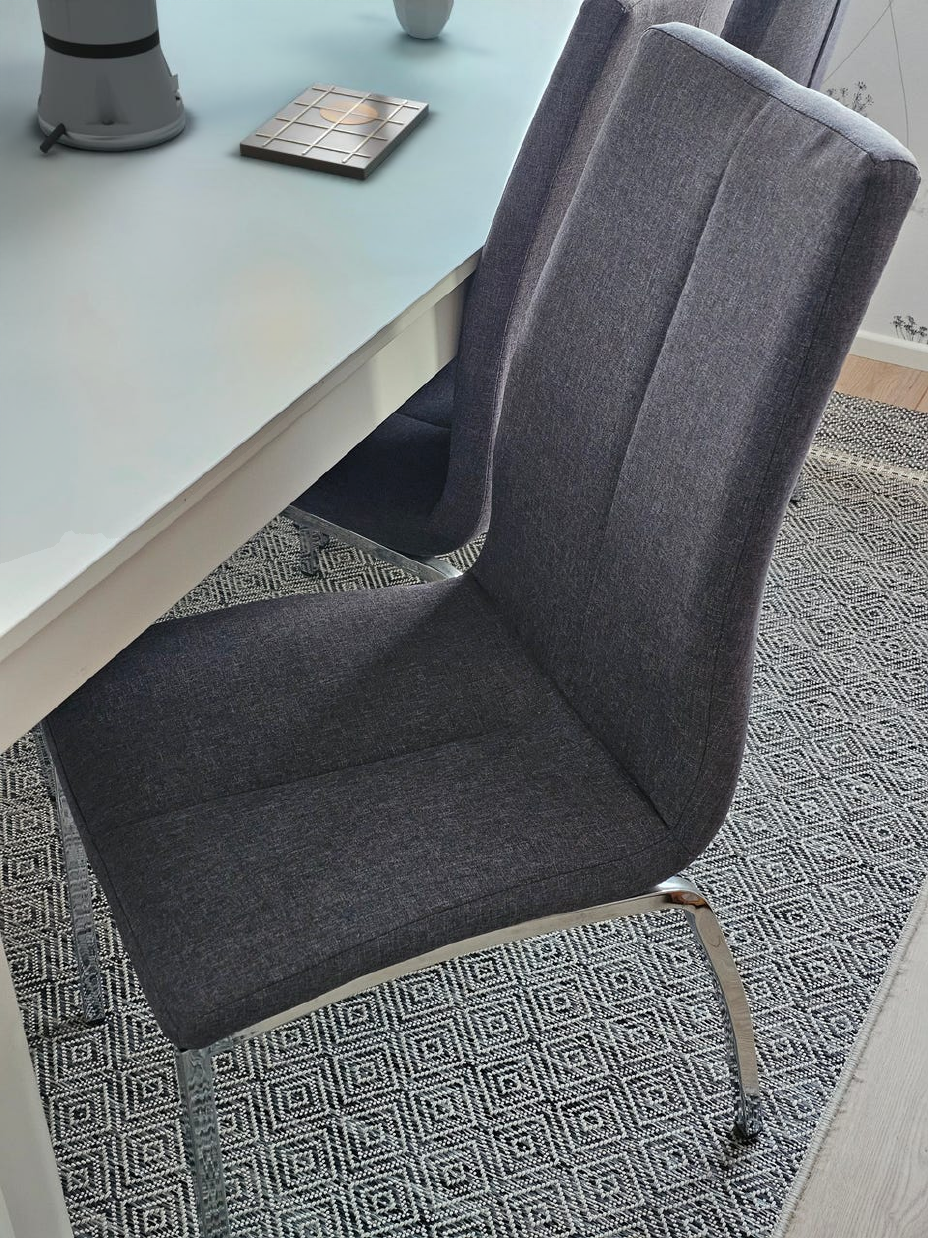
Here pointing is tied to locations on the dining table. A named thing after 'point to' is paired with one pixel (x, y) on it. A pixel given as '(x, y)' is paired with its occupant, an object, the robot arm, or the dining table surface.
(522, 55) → the dining table surface
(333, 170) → the board
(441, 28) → the apple
